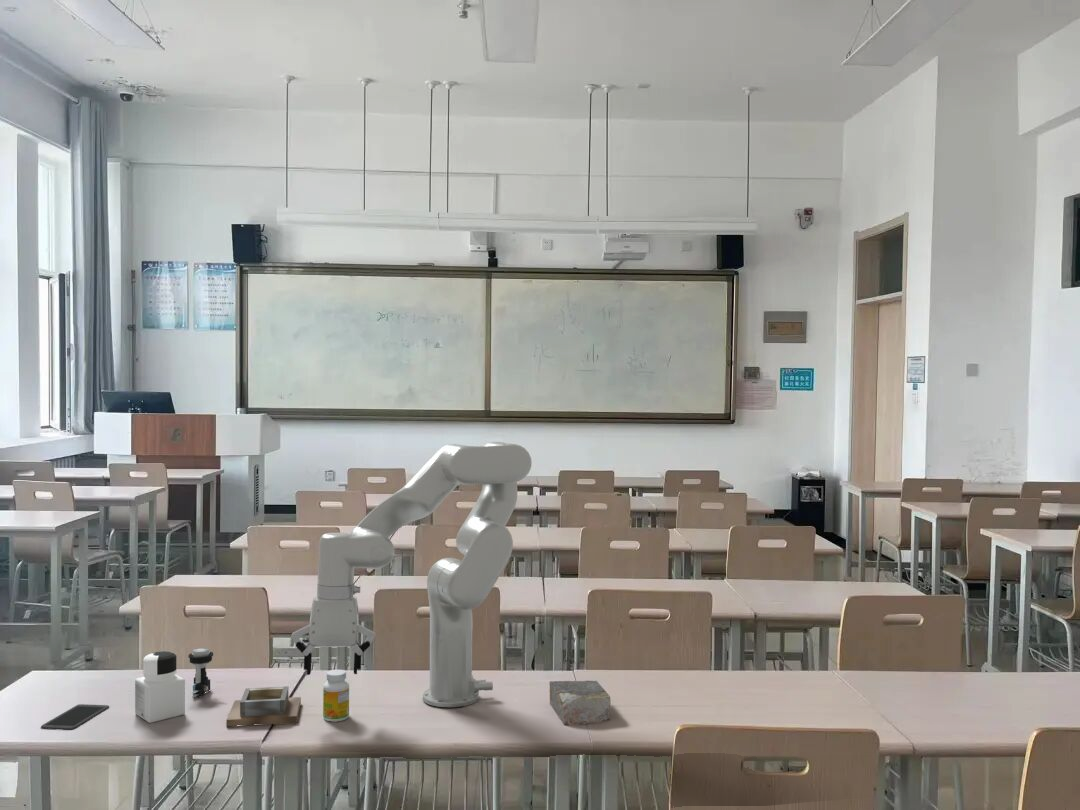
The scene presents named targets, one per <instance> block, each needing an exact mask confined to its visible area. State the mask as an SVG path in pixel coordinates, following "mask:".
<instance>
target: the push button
mask: <svg viewBox="0 0 1080 810" xmlns="http://www.w3.org/2000/svg"><path fill="white" fill-rule="evenodd" d="M187 657H188V658H189V663H190V664H192V665H194V666H195V674H194V675H195V676H194V677H193V684H192V692H191V693H192V698H197V697H196V696H201V695H202V696H203V695H205V694H208V693H209V692H210V691H211V679H210V678H209V677H208V676H207V673H208V672H207V665H208V664H209V663H210V662H211V661H212V660H213V657H214V652H213V651H210V649H209V648H208V647H199V648H194V649H193V650H192V652H191V653H189V654H188V656H187ZM209 690H210V691H209ZM205 692H206V693H205ZM204 693H205V694H204ZM202 696H201V697H202Z"/></svg>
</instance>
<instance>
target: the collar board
mask: <svg viewBox="0 0 1080 810" xmlns="http://www.w3.org/2000/svg"><path fill="white" fill-rule="evenodd" d="M289 687H290V686H269V687H265V686H264V687H251V688H250V687H246V688H245V690H244V692H243V694H242V697H241V699H239V700H238V699H237V700H234V701H233V704H232V706H231V708H230V711H229V712H228V715H227V718H226V724H225V725H226V726H237V725H254V724H273V725H286V724H285V723H291V724H297V723H298V719H299V712H300V708H301V705H300V704H301V703H302V697H301V696H297V697H296V696H295V697H293V696H292V697H289ZM297 718H298V719H297Z"/></svg>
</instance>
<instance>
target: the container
mask: <svg viewBox="0 0 1080 810" xmlns="http://www.w3.org/2000/svg"><path fill="white" fill-rule="evenodd" d="M142 663H143V664H142V665H143V673H142V674H143V675H142V676H141V677H136V678H135V680H134V683H135V684H134V698H135V699H134V713H135V715H137V716H138V717H139V718H141V719H143V720H145V721H146V722H147V723H150V724H152V723H156V722H160V721H163V720H168V719H173V718H176V717H179V716H184V715H185V713H186V680H185V678H183V677H181V676H179V674H177V655H176V654H175V653H174V652H171V651H166V650H165V651H156V652H152V653H149V654H147V655H146V656H144V658H143V661H142Z"/></svg>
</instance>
